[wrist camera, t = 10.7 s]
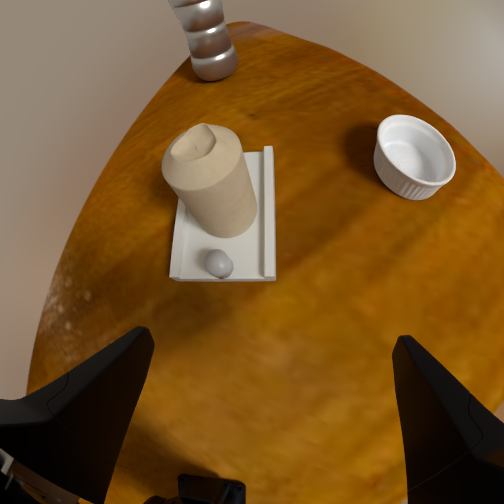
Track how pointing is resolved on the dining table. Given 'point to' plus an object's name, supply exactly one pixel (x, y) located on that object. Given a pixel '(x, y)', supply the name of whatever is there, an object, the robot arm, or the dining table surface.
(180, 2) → the plastic bottle
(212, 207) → the candle
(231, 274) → the tray
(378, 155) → the ramekin
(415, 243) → the dining table surface
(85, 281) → the dining table surface
